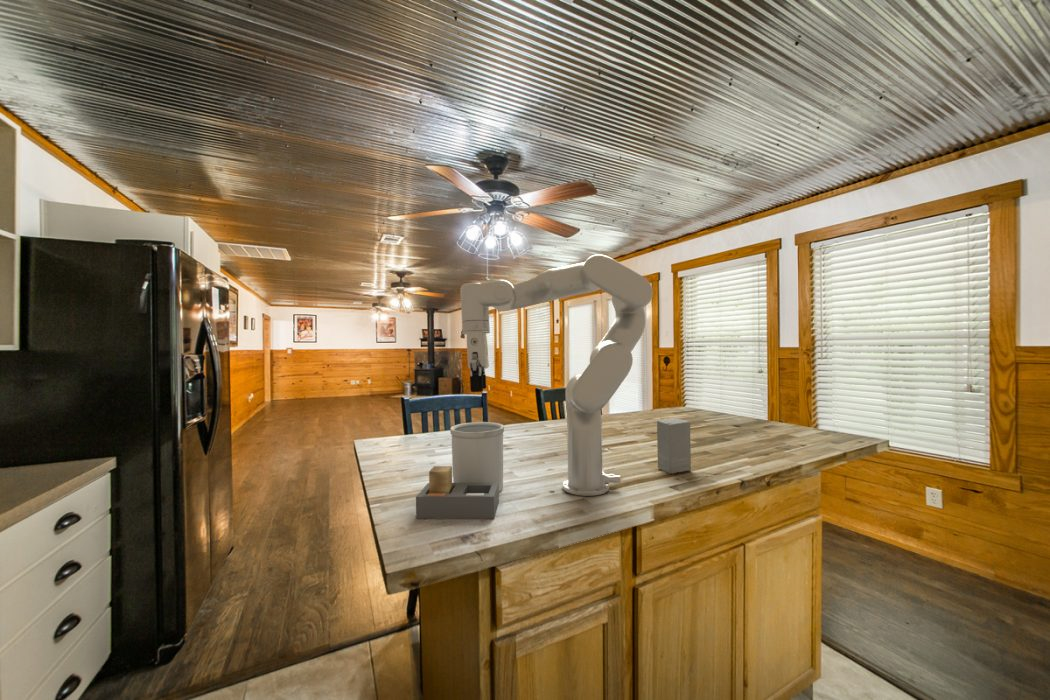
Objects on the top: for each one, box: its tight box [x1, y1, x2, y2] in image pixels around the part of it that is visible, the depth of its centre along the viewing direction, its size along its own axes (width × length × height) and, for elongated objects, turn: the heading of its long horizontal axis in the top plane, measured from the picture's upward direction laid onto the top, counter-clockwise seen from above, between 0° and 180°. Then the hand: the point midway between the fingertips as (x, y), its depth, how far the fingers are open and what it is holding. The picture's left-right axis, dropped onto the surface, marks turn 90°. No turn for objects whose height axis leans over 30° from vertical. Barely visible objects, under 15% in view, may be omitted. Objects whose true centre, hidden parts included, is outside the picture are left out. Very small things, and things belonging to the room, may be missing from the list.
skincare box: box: [656, 418, 692, 474], centre depth 125 cm, size 8×7×16 cm
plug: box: [428, 465, 453, 494], centre depth 96 cm, size 4×4×10 cm
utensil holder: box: [449, 421, 505, 493], centre depth 110 cm, size 15×15×18 cm
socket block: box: [415, 482, 500, 520], centre depth 95 cm, size 18×10×5 cm, turn 88°
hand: (478, 390), depth 109 cm, fingers open, 9 cm apart
